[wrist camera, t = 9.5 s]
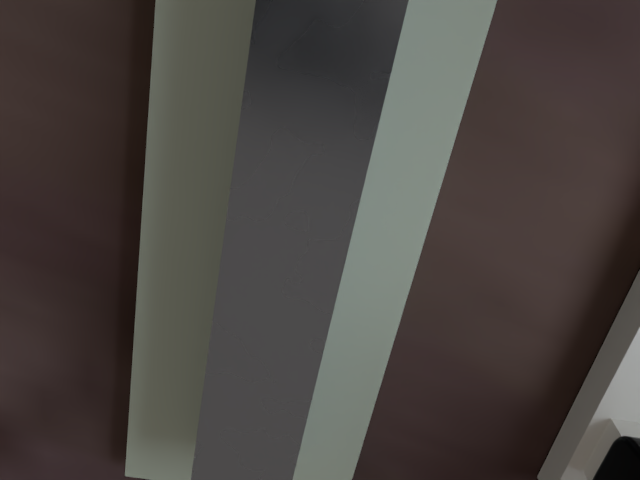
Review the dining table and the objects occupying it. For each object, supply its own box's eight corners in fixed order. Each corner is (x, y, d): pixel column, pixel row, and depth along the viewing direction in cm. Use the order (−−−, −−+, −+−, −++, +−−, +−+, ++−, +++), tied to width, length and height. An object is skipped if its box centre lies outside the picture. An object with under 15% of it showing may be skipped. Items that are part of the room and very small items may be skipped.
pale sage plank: (343, 488, 23) (343, 506, 22) (131, 458, 22) (124, 475, 22) (626, -466, 11) (646, -492, 11) (204, -585, 11) (196, -622, 10)
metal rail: (287, 456, 21) (282, 518, 19) (201, 444, 21) (187, 505, 19) (480, -381, 11) (519, -457, 9) (324, -422, 11) (324, -512, 9)
